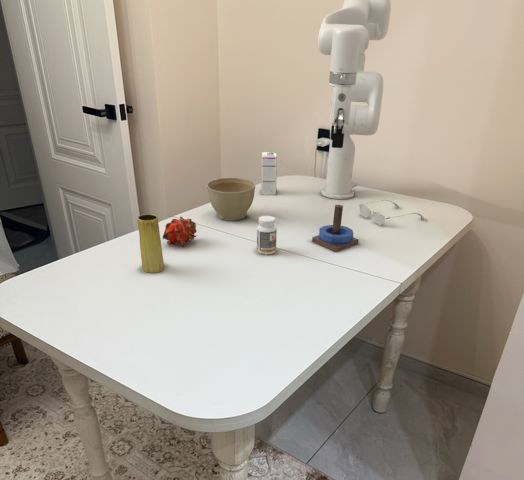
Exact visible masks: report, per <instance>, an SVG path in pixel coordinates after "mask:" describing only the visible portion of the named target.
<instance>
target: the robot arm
mask: <svg viewBox="0 0 524 480" xmlns="http://www.w3.org/2000/svg"><path fill="white" fill-rule="evenodd" d="M391 7H392V6H391V0H343V4H342V7H341V8H340V9H337V10H336V11H335V10H334V11H333V12H331V13H329V14H327V15H326V16H324V18H323V19H322V22H321V25H320V27H319V31H318V35H317V48H318V51H319V53H320V54H322V55H324V56H330V65H329V75H328V76H329V77H328V85H329V86H332V89H331V90H332V92H331V102H330V103H331V104H330V105H331V106H330V109H331V110H330V113H329V150H328V159H327V160H328V161H327V170H326V182H325V187H323V188H322V189H321V192H320V193H321V195H322V196H324V197H325V198H328V199H333V200H347V199H351V198H353V197H354V196H355V191H354V190H353V188H355V187H358V186H359V182H358V180H356V181H352V179H353V172H354V171H353V170H354V164H355V157H356V156H355V155H356V144H355V143H354V140H353V139H352V137H351V136H353V135H355V136H373V135H375V134H376V133H377V131H378V128H379V125H380V117H381V110H382V102H383V94H384V78H383V75H382V74H381V73H379V72H375V71H365V64H366V55H365V52H366V51H367V50H368V47H369V44H370V41H381V40H383V39H384V38H385V37H386V36H387V34H388V31H389V26H390V19H391V9H392V8H391ZM352 103H366V105H357V104H352Z"/></svg>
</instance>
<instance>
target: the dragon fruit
mask: <svg viewBox="0 0 524 480" xmlns="http://www.w3.org/2000/svg"><path fill="white" fill-rule="evenodd" d="M197 232H198V231H197V224H196V222H195V221H192V218H183V216H179V219H177V218H172V219H171V221H170V222H167V223H166V224H165V226H164V231H163V235H162V240H166V244H167V245H168V246H177V245H179V244H182V247H185V246H186V245H187V244H188V243H190V241H192V240H195V238H196V237H198V235H197V234H196V233H197ZM195 234H196V235H195Z"/></svg>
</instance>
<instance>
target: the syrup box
mask: <svg viewBox="0 0 524 480" xmlns="http://www.w3.org/2000/svg"><path fill="white" fill-rule="evenodd" d="M277 157H278V153H277V152H274V151H263V152H261V171H260V172H261V173H260V174H261V183H260V184H261V186H260V187H261V190H260V191H261V193H260V194H261V195H267V196H269V195H270V196H273V195H274V196H276V195H277V177H278V176H277V175H278V173H277V172H278V170H277V169H278V167H277V166H278V165H277V164H278V160H277V159H278V158H277Z"/></svg>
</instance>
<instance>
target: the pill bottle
mask: <svg viewBox="0 0 524 480" xmlns="http://www.w3.org/2000/svg"><path fill="white" fill-rule="evenodd" d="M258 224H259V225H257V227H256V251H257V252H258V253H259V254H261V255H273V254H275V253H276V251H277V226H276V225H275V224H276V218H275V217H274V216H271V215H262V216H260V217H258Z"/></svg>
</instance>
